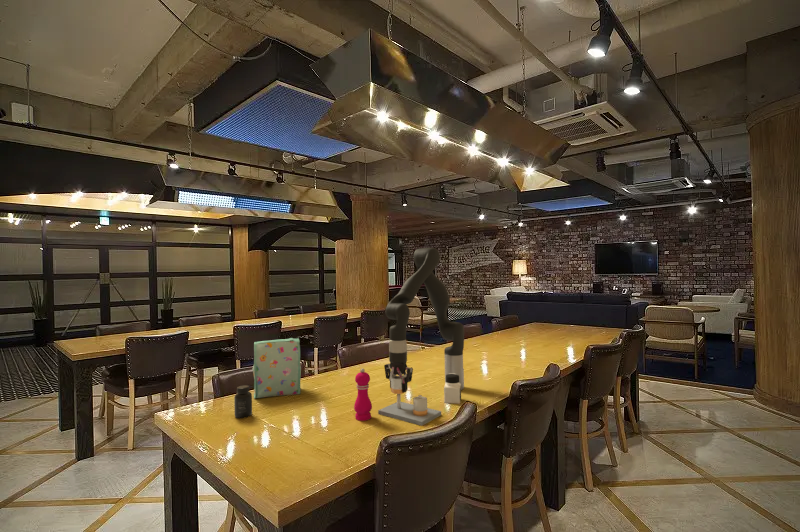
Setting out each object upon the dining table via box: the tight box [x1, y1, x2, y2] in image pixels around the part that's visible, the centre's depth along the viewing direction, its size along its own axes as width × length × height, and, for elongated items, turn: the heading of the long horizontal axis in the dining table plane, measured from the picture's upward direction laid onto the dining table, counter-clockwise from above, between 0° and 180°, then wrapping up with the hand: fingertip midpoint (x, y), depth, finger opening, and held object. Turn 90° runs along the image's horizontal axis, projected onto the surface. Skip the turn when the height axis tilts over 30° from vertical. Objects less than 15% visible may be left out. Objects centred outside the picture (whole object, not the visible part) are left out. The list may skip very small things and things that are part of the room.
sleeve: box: [390, 375, 406, 395], centre depth 165 cm, size 6×6×6 cm
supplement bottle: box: [233, 384, 253, 419], centre depth 163 cm, size 7×7×12 cm
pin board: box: [377, 394, 442, 426], centre depth 161 cm, size 14×22×9 cm, turn 52°
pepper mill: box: [353, 367, 373, 422], centre depth 158 cm, size 7×7×20 cm
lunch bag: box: [251, 337, 302, 399], centre depth 194 cm, size 23×16×27 cm
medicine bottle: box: [443, 373, 462, 405], centre depth 178 cm, size 7×7×12 cm
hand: (398, 390), depth 165 cm, fingers closed on sleeve, 5 cm apart
